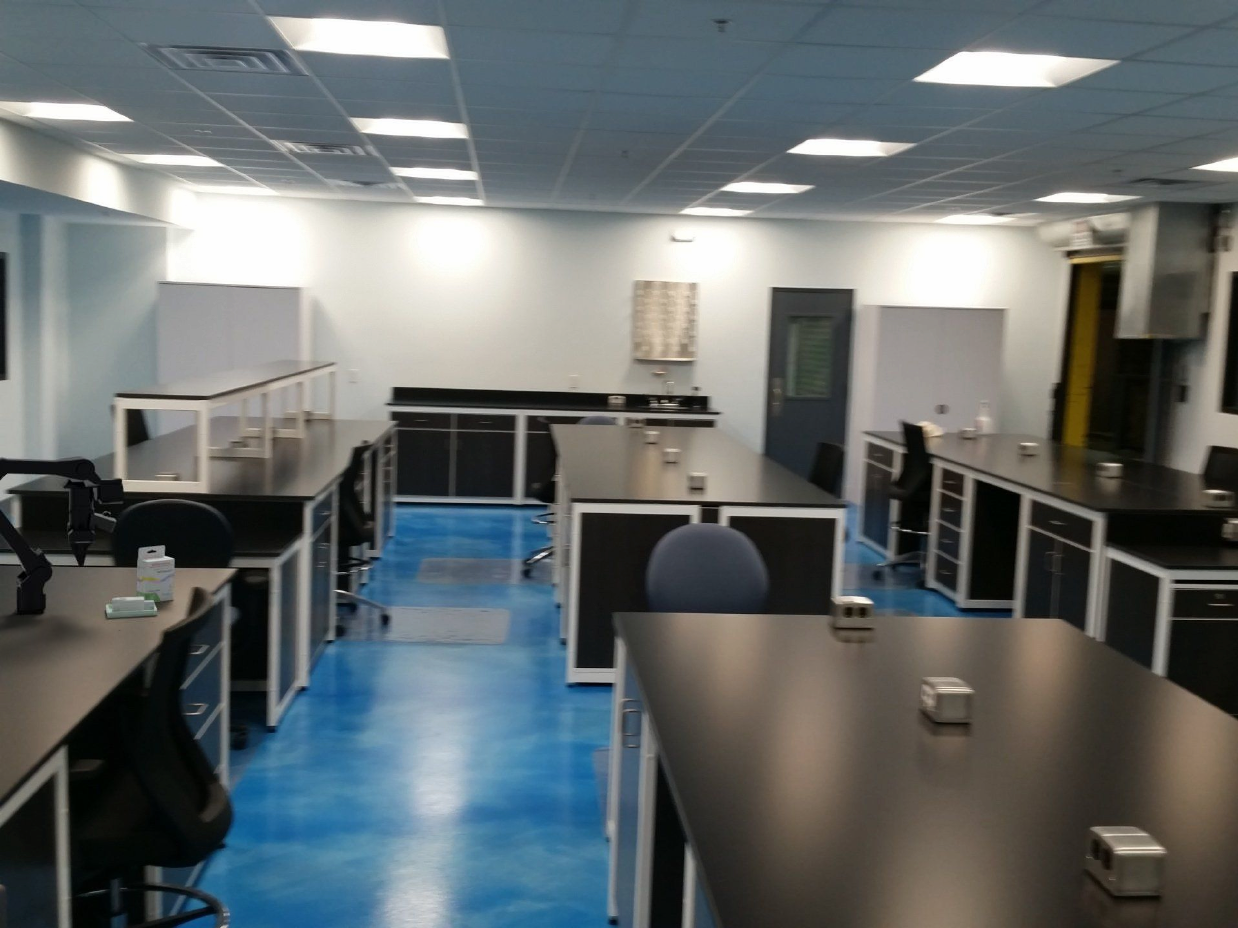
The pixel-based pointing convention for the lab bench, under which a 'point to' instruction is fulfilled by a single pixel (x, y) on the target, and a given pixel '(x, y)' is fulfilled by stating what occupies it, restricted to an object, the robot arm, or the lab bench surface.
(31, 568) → the robot arm
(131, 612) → the tray
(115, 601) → the connector
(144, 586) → the ink box
